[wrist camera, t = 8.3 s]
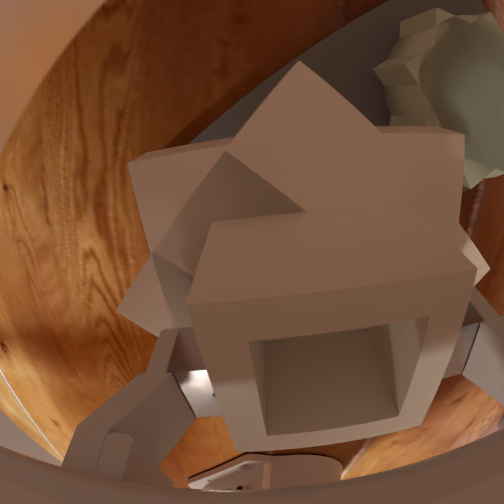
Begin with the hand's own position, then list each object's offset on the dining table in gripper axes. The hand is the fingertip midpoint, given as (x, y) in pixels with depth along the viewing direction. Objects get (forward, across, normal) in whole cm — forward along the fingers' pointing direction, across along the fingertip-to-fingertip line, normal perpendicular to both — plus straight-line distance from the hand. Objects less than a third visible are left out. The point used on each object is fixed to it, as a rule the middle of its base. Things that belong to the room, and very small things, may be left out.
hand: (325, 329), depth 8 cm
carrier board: (+12, -6, -3) cm, 13 cm away
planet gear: (+3, 0, 0) cm, 3 cm away
